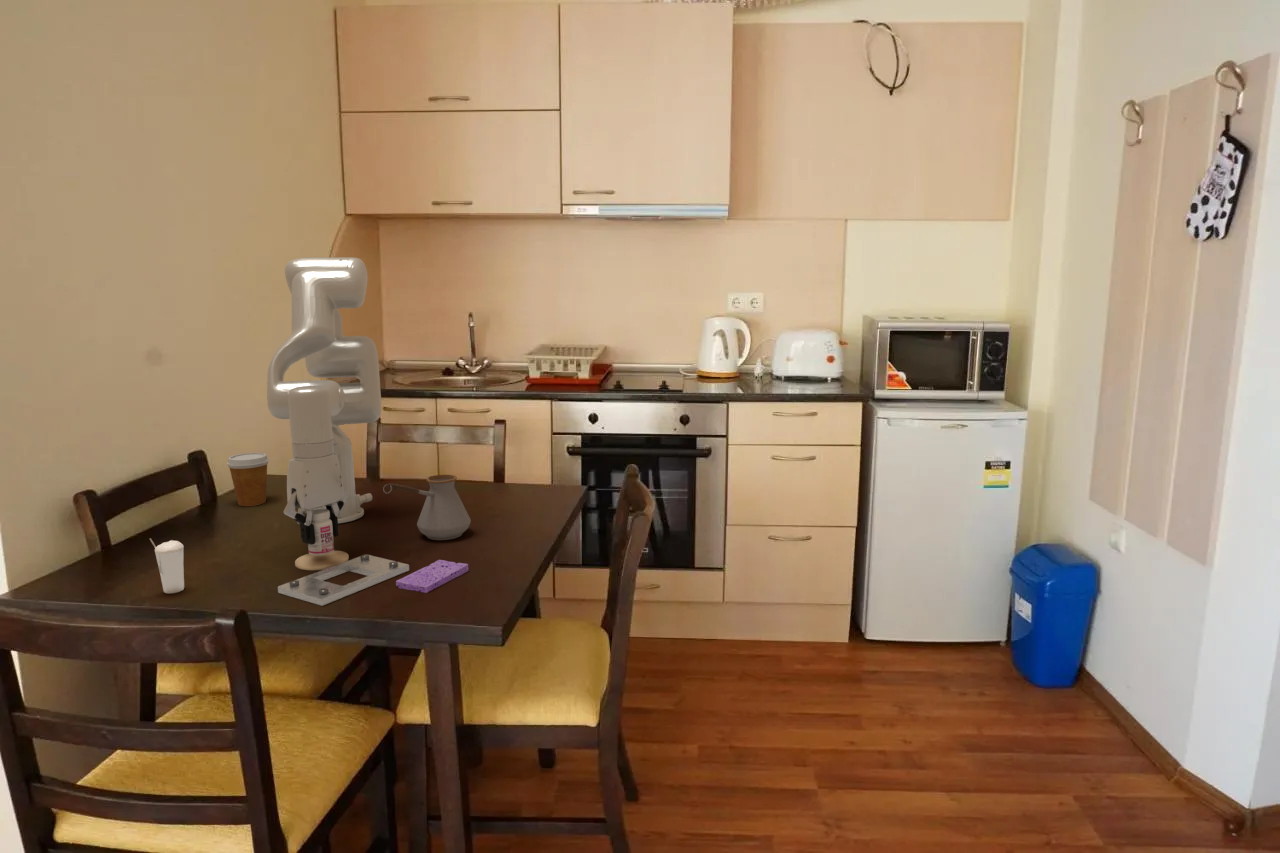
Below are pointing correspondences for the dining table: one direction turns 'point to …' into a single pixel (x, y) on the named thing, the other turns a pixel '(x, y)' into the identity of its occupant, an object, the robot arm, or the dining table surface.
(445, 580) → the sponges
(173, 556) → the milkshake
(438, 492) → the coffee pot
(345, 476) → the robot arm
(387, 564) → the flange plate
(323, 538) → the pill bottle
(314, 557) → the cork coaster
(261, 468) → the disposable coffee cup
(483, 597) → the dining table surface
